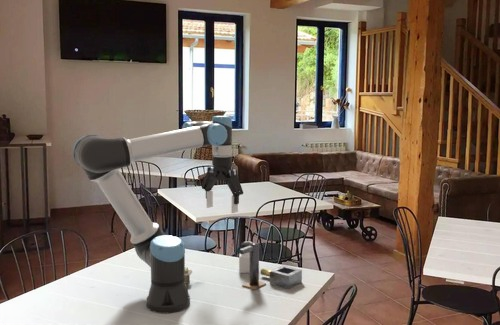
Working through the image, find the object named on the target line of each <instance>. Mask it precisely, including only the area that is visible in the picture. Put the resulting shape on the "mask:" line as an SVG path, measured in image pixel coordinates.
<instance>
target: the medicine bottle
mask: <svg viewBox="0 0 500 325" xmlns="http://www.w3.org/2000/svg"><path fill="white" fill-rule="evenodd" d="M250 243H254V241H253V242H252V241H243V242H242V243H240V249H242V248H245V247H247V246H250ZM249 266H250V252H248V253H245V254H239V256H238V273H239V274H249Z"/></svg>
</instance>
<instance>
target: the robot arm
mask: <svg viewBox="0 0 500 325" xmlns="http://www.w3.org/2000/svg"><path fill="white" fill-rule="evenodd" d="M232 136H233V122H232V117H231V116H230V115H229V116H228V115H213V116H212V118H211V121H185V122H183V124H182V127H181V129H176V130H175V129H174V130H169V131H166V132H165V131H164V132H159V133H155V134H150V135H143V136H139V137H135V138H133V137H132V138H129V139H127V138H126V137H124V136H122V137H117V138H115V137H114V138H107V137H101V136H99V135H96V134H87V135H84V136H82V137H80V138H79V139H78V140H76V142H75V143H74V145H73V148H72V157H73V160H74V161H75V163H76V164H77V165H78V166H79V167H80V168H81V169H82V170H83V172H84V174H85V175H86V177H87V178H88V179H89V181H91V182H94V183H97V185H98V186H99V188H100V190H101V191H102V193H103V194H104V196H105V197H106V199H107V200H108V202H109V203H110V204H111V206H112V208H113V209H114V211H115V212H116V214H117V215H118V217H119V218H120V220H121V221H122V222H123V224H124V226H125V228H126V229H127V230H128V232H129V234H130V239H129V240H130V243H131V245H132V247H133V248H134V250H135V252H136V255H137V257H138V258H139V259H141V261H143V262H144V263H146V265H148V266H149V268H150V287H149V291H148V295H147V297H146V309H147V310H149V311H151V312H154V313H157V314H173V313H178V312H181V311H184V310H186V309H188V308H189V307H190V305H191V296H190V294H189V291H188V288H187V284H185V268H186V267H185V266H186V265H185V263H186V262H185V261H186V260H185V257H186V256H185V253H186V249H185V243H184V241H183V240H182V239H181V237H178V236H173V235H169V234H165V233H164V231H163V229H162V228H161V226H160V224H158V222H153V221H152V220H151V218H150V217H149V215H148V213H147V212H146V211H145V209H144V207H143V205H142V204H141V202H140V201H139V199H138V197H137V196H136V194H135V193H134V192H133V190H132V188H131V187H130V185H129V184H128V182H127V181H126V178H125V177H124V176H123V174H122V172H121V171H120V169H123V168H127V167H130V166H131V165H132V163H134V162H140V161H144V160H148V159H152V158H157V157H162V156H167V155H171V154H176V153H180V152H185V151H188V150H193V149H198V148H203V147H208V146H209V147H210V146H212V147H211V148H212V149H211V150H212V152H211V153H212V159H211V160H212V161H211V163H212V164H211V166H208V167H207V168H206V169H207V171H206V175H205V177H204V180H203V182H202V185H201V189H203V190H204V192H205V199H206V208H213V207H214V204H213V203H214V201H213V200H214V199H213V198H214V194H213V192H214V191H213V188H214V186H215V185H216V183H217V182H218V181H220V180H221V181H224V182H225V183H226V184H227V188H229V189H230V192H231V193H232V195H231V214H234V213H238V212H239V210H238V209H239V208H238V207H239V203H240V196H241V195H244V190H243V187H242V185H241V182H240V179H239V176H238V170H237V169H231V166H232V165H233V164H232V160H233V159H232V154H233V152H232V149H233V148H232V147H233V145H232V144H233V143H232V141H233V137H232Z"/></svg>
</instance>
